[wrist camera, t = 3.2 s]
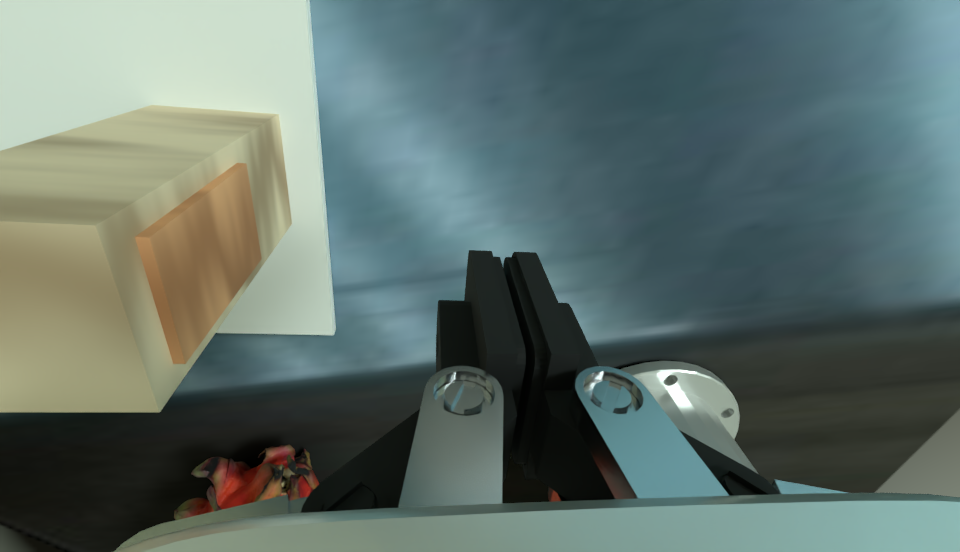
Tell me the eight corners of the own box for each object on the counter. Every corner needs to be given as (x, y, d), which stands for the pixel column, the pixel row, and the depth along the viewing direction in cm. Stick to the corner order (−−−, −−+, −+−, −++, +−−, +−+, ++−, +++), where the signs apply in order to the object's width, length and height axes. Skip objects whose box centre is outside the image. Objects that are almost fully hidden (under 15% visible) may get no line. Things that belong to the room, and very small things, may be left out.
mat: (335, 328, 26) (333, 335, 25) (-70, 320, 23) (-81, 327, 23) (303, -70, 17) (299, -73, 16) (-347, -146, 15) (-375, -152, 14)
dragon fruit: (230, 505, 34) (306, 386, 32) (305, 593, 32) (393, 473, 29) (105, 577, 26) (192, 427, 24) (192, 701, 24) (299, 551, 22)
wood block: (298, 224, 22) (172, 412, 11) (179, 218, 21) (-69, 412, 11) (286, 114, 19) (112, 225, 9) (151, 105, 19) (-204, 212, 8)
